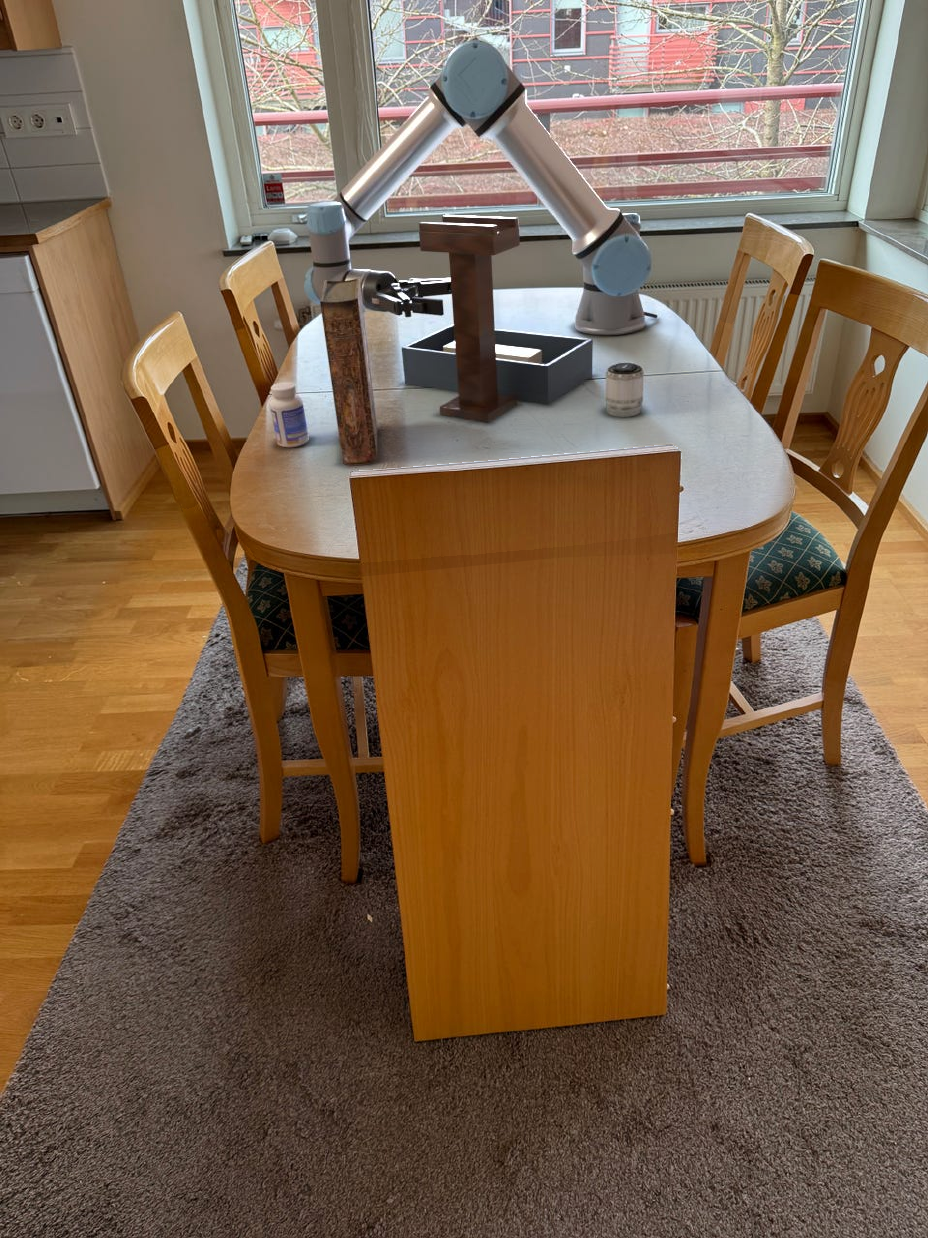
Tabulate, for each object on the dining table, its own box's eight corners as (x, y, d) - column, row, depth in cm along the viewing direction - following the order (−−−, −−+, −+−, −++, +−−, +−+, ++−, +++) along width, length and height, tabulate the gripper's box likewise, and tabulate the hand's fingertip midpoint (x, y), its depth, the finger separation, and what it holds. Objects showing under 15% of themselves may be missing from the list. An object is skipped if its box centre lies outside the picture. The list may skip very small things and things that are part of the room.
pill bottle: (314, 437, 155) (305, 381, 150) (299, 449, 151) (290, 391, 146) (286, 435, 157) (276, 379, 152) (271, 447, 153) (260, 390, 148)
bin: (592, 376, 174) (592, 339, 170) (548, 405, 161) (547, 366, 158) (454, 358, 189) (452, 324, 185) (404, 383, 177) (401, 347, 173)
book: (377, 463, 144) (357, 300, 130) (342, 466, 144) (319, 303, 130) (377, 426, 158) (359, 275, 144) (345, 429, 157) (324, 278, 144)
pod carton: (542, 371, 172) (541, 349, 170) (529, 378, 168) (528, 357, 166) (457, 360, 181) (456, 339, 179) (444, 367, 178) (442, 346, 176)
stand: (527, 405, 162) (522, 216, 145) (498, 424, 155) (489, 227, 138) (461, 395, 169) (449, 213, 152) (430, 413, 162) (414, 224, 145)
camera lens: (646, 406, 158) (648, 361, 153) (636, 419, 153) (638, 373, 149) (611, 403, 160) (612, 359, 156) (600, 415, 155) (601, 370, 151)
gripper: (411, 295, 192) (497, 303, 181) (335, 325, 175) (426, 336, 164) (407, 257, 188) (495, 263, 177) (329, 285, 171) (422, 293, 160)
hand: (462, 298), depth 171 cm, fingers open, 13 cm apart
